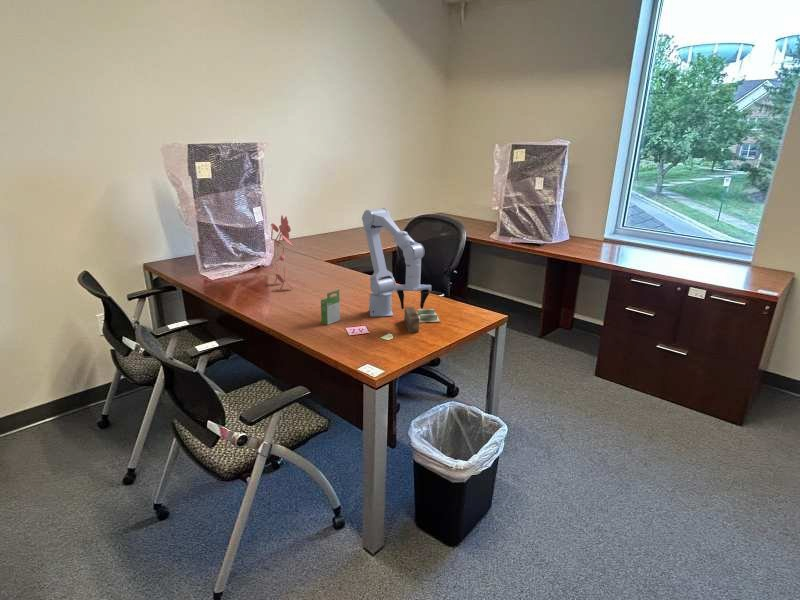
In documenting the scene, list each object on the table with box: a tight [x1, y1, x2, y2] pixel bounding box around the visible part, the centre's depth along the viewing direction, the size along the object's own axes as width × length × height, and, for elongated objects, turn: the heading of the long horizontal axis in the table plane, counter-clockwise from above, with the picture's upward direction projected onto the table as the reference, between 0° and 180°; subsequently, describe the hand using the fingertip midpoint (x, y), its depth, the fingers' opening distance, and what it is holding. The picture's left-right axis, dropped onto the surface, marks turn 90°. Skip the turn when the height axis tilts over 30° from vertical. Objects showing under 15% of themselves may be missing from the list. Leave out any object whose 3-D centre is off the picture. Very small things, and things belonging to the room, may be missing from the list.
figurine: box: [270, 215, 305, 295], centre depth 230 cm, size 15×26×35 cm, turn 33°
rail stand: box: [416, 308, 441, 324], centre depth 200 cm, size 9×10×3 cm
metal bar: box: [403, 306, 420, 334], centre depth 191 cm, size 4×13×6 cm, turn 8°
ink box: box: [320, 289, 341, 326], centre depth 192 cm, size 7×4×13 cm, turn 141°
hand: (412, 308), depth 189 cm, fingers open, 7 cm apart
